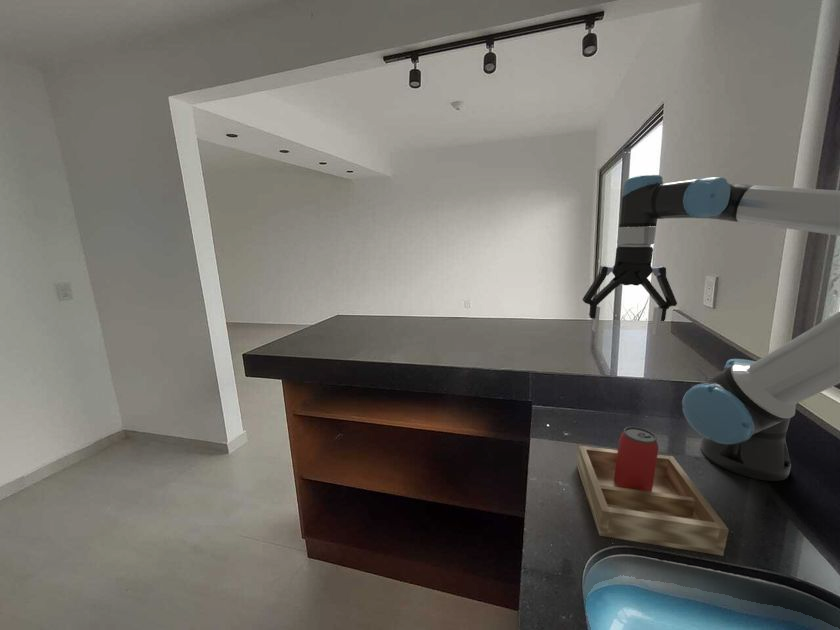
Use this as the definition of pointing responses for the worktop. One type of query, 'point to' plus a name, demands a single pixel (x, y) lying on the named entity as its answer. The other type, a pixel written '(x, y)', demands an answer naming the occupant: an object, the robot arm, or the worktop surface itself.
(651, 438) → the beer can
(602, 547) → the worktop surface
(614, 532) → the crate
